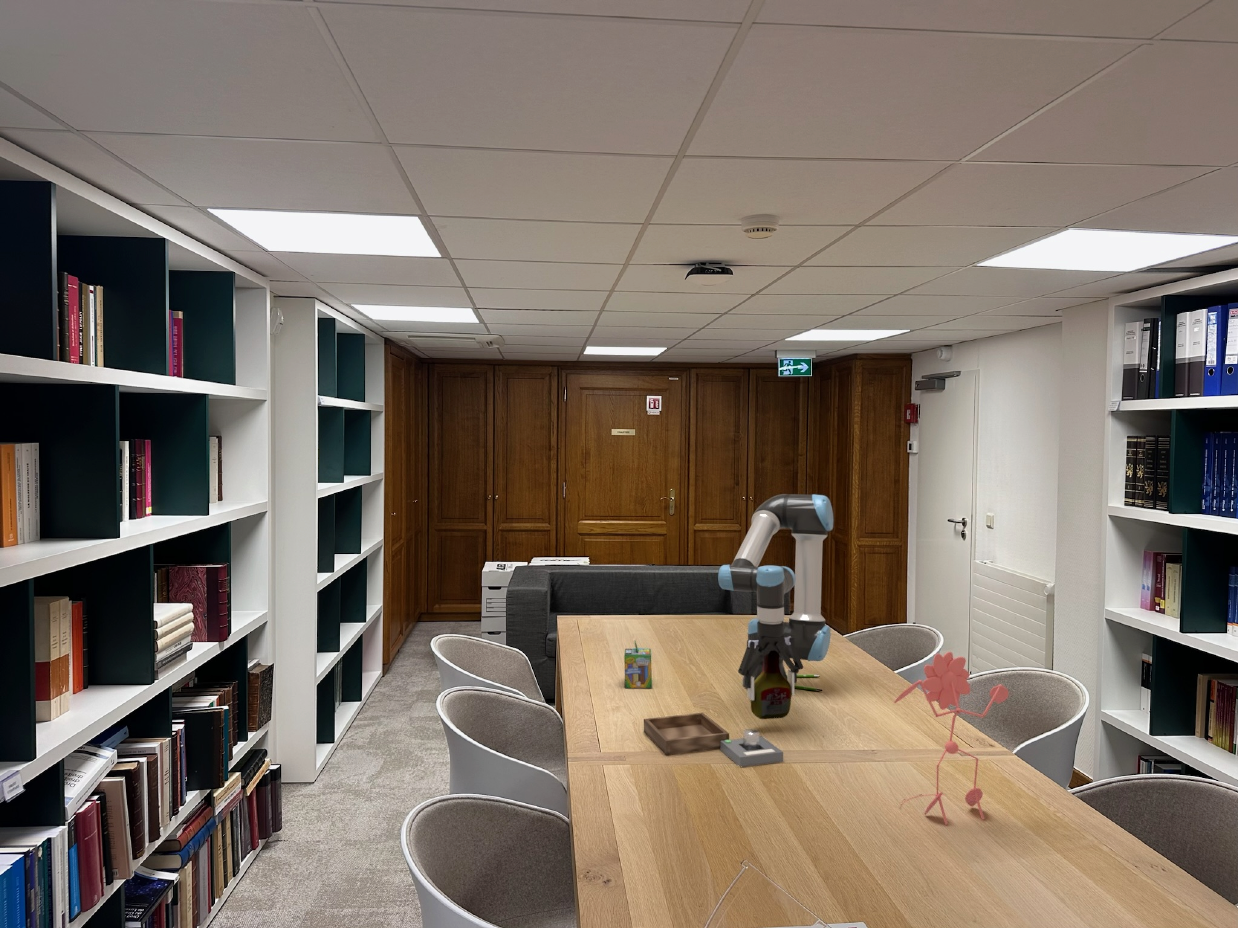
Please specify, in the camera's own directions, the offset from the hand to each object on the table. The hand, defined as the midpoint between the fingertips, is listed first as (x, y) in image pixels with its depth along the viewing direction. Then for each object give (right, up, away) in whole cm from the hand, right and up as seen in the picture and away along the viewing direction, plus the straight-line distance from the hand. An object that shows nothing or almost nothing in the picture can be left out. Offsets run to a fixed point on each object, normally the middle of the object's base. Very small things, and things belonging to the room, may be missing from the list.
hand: (771, 696), depth 230 cm
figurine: (+29, -10, -51) cm, 59 cm away
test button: (-9, -8, -20) cm, 23 cm away
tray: (-25, -10, -8) cm, 28 cm away
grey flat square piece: (-9, -10, -20) cm, 24 cm away
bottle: (0, -6, 0) cm, 6 cm away
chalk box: (-37, -9, +44) cm, 58 cm away
